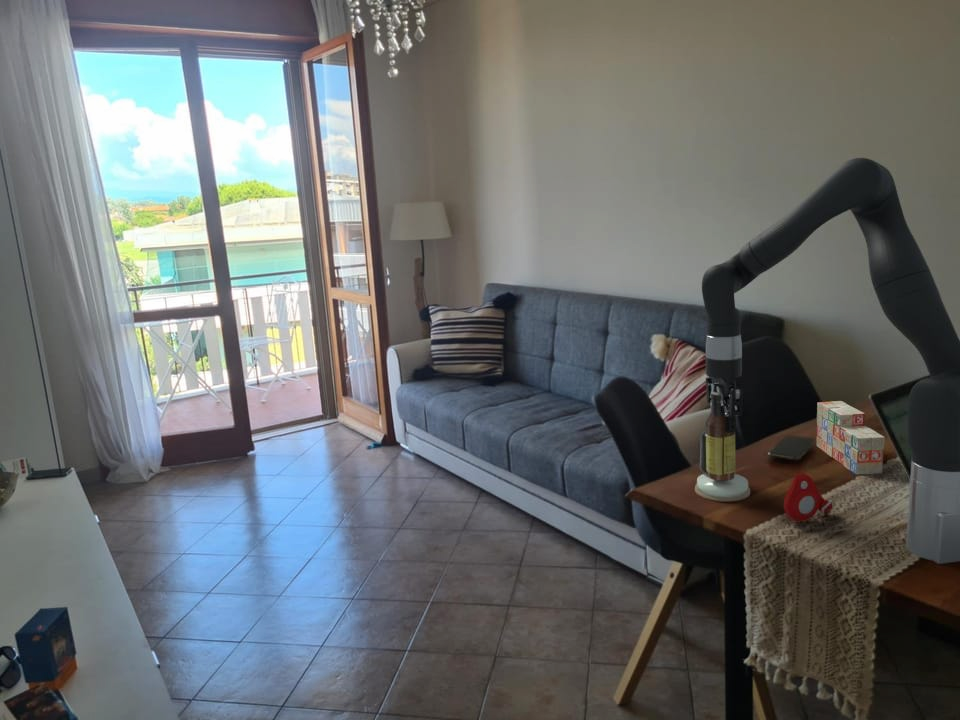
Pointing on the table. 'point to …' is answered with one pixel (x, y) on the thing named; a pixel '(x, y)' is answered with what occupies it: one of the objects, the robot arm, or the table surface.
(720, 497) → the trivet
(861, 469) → the stack of blocks
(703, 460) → the supplement bottle
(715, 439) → the sauce bottle
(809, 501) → the tracker holder
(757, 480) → the table surface
